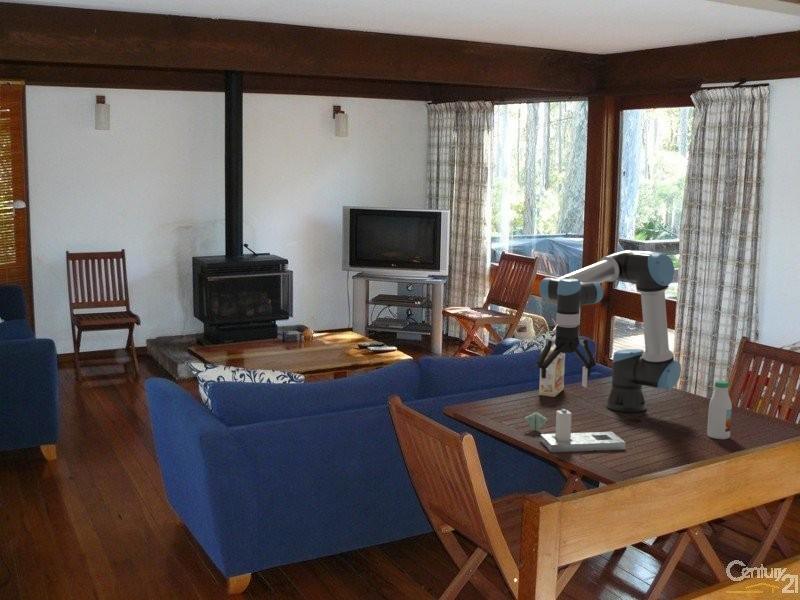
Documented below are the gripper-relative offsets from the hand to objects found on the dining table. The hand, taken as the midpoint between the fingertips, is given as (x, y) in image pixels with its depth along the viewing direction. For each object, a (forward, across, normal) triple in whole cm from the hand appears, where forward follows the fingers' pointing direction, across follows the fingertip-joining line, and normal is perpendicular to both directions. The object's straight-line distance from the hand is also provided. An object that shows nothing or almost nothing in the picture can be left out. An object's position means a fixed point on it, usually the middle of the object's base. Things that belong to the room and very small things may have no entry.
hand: (565, 387), depth 301 cm
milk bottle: (+21, -59, -4) cm, 63 cm away
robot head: (+21, +4, -18) cm, 28 cm away
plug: (+21, 0, 0) cm, 21 cm away
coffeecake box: (+21, -19, -70) cm, 75 cm away
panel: (+21, -7, 0) cm, 22 cm away
